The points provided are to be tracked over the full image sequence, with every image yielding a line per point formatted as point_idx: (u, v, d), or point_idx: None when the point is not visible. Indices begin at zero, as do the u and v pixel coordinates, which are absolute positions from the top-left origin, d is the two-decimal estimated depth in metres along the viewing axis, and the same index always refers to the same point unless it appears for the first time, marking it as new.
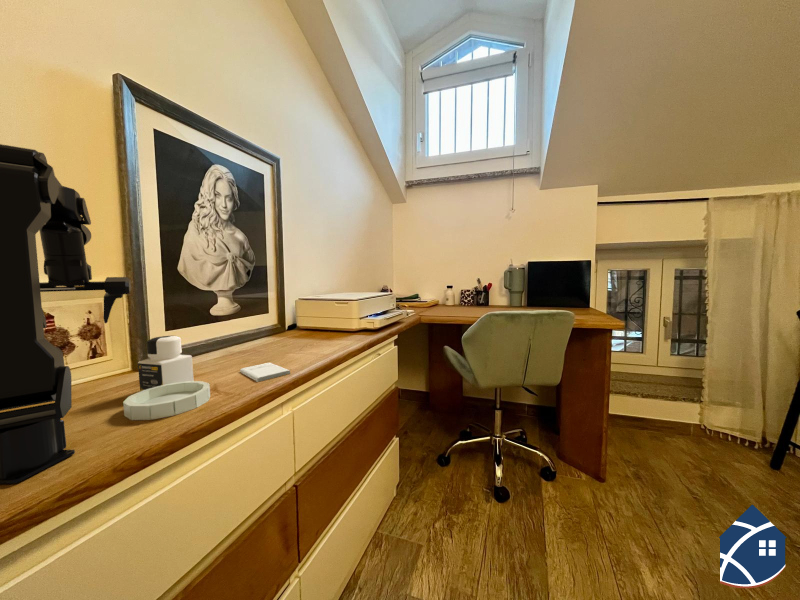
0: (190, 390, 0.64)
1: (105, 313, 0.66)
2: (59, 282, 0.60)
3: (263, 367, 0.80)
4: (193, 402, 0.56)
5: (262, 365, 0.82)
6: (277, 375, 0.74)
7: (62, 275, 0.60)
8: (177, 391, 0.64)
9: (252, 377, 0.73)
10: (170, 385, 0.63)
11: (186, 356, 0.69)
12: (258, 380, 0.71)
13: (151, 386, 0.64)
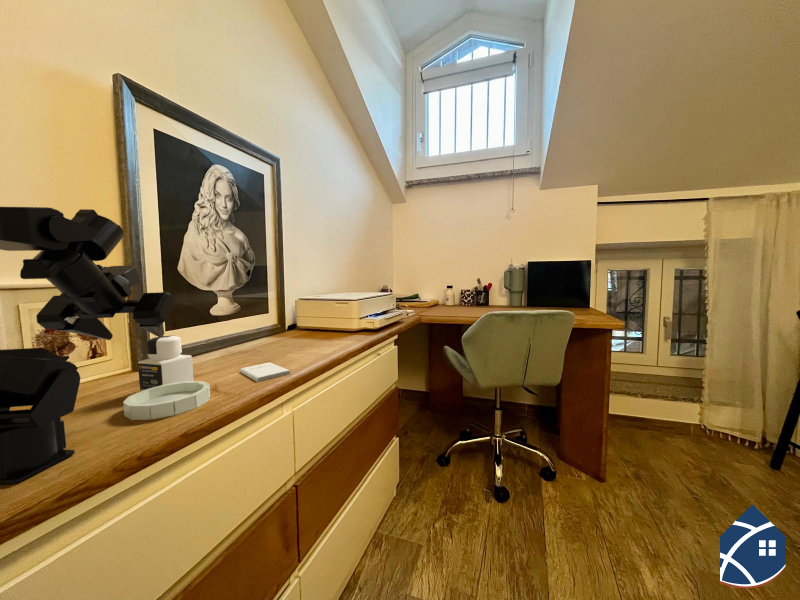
0: (190, 390, 0.64)
1: (153, 333, 0.57)
2: (87, 315, 0.50)
3: (263, 367, 0.80)
4: (193, 402, 0.56)
5: (262, 365, 0.82)
6: (277, 375, 0.74)
7: (85, 309, 0.49)
8: (177, 391, 0.64)
9: (252, 377, 0.73)
10: (170, 385, 0.63)
11: (186, 356, 0.69)
12: (258, 380, 0.71)
13: (151, 386, 0.64)
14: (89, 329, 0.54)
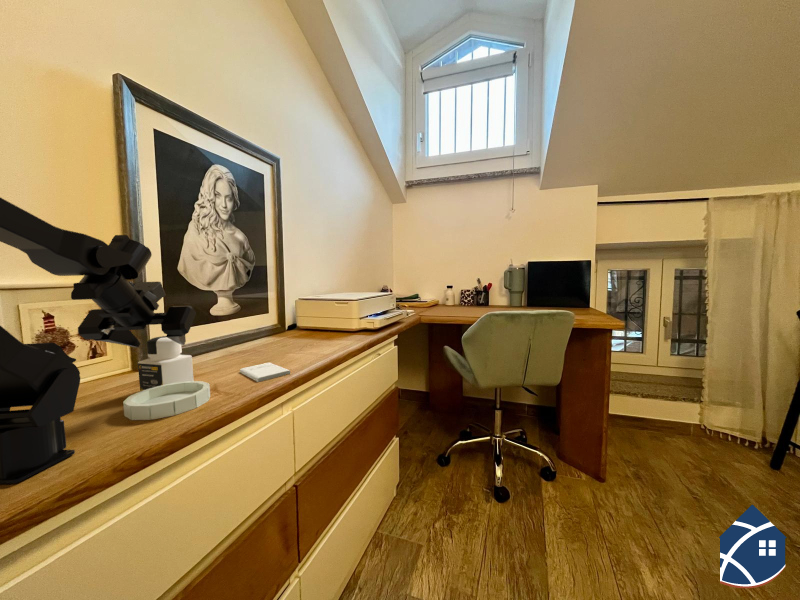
0: (190, 390, 0.64)
1: (177, 342, 0.64)
2: (122, 327, 0.57)
3: (263, 367, 0.80)
4: (193, 402, 0.56)
5: (262, 365, 0.82)
6: (277, 375, 0.74)
7: (121, 323, 0.56)
8: (177, 391, 0.64)
9: (252, 377, 0.73)
10: (170, 385, 0.63)
11: (186, 356, 0.69)
12: (258, 380, 0.71)
13: (151, 386, 0.64)
14: (121, 338, 0.62)
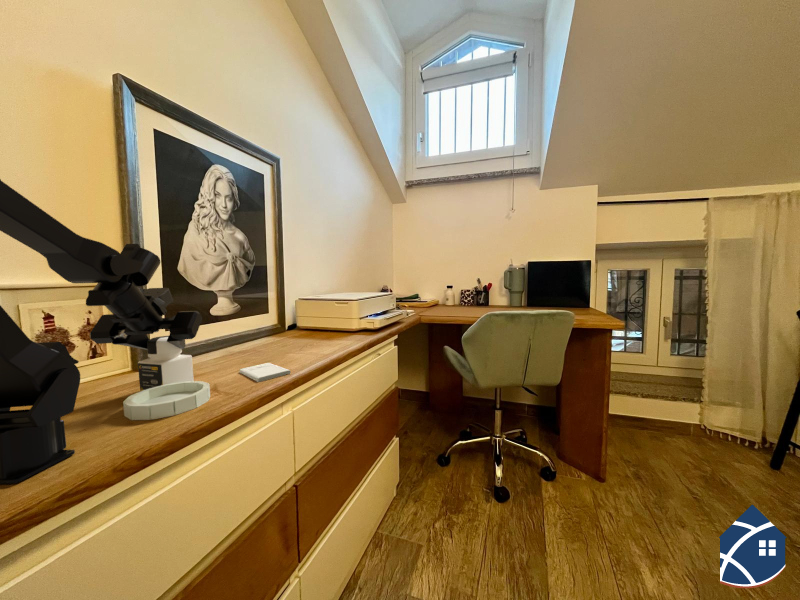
0: (190, 390, 0.64)
1: (177, 346, 0.66)
2: (132, 332, 0.59)
3: (263, 367, 0.80)
4: (193, 402, 0.56)
5: (261, 365, 0.82)
6: (277, 375, 0.74)
7: (131, 327, 0.58)
8: (177, 391, 0.64)
9: (252, 377, 0.73)
10: (170, 385, 0.63)
11: (186, 356, 0.69)
12: (259, 380, 0.71)
13: (151, 386, 0.64)
14: (138, 342, 0.64)
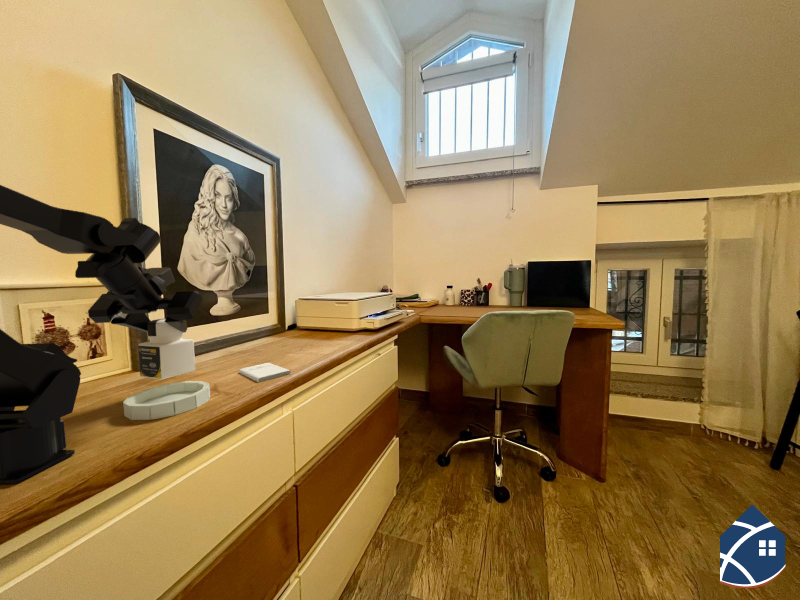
0: (190, 390, 0.64)
1: (177, 328, 0.63)
2: (129, 310, 0.56)
3: (262, 367, 0.80)
4: (193, 402, 0.56)
5: (261, 365, 0.82)
6: (278, 375, 0.74)
7: (127, 305, 0.55)
8: (177, 391, 0.64)
9: (252, 377, 0.73)
10: (170, 385, 0.63)
11: (187, 340, 0.66)
12: (259, 380, 0.71)
13: (150, 369, 0.61)
14: (138, 323, 0.62)
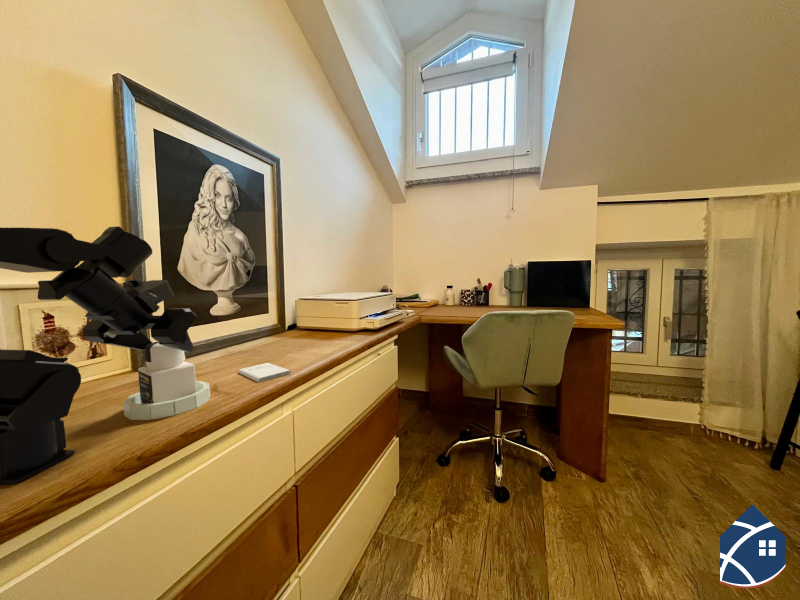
0: None
1: (179, 349, 0.56)
2: (115, 331, 0.50)
3: (262, 367, 0.80)
4: (193, 402, 0.56)
5: (261, 365, 0.82)
6: (278, 375, 0.74)
7: (111, 326, 0.49)
8: None
9: (253, 377, 0.73)
10: None
11: (187, 365, 0.58)
12: (259, 380, 0.71)
13: (146, 399, 0.55)
14: (130, 342, 0.56)
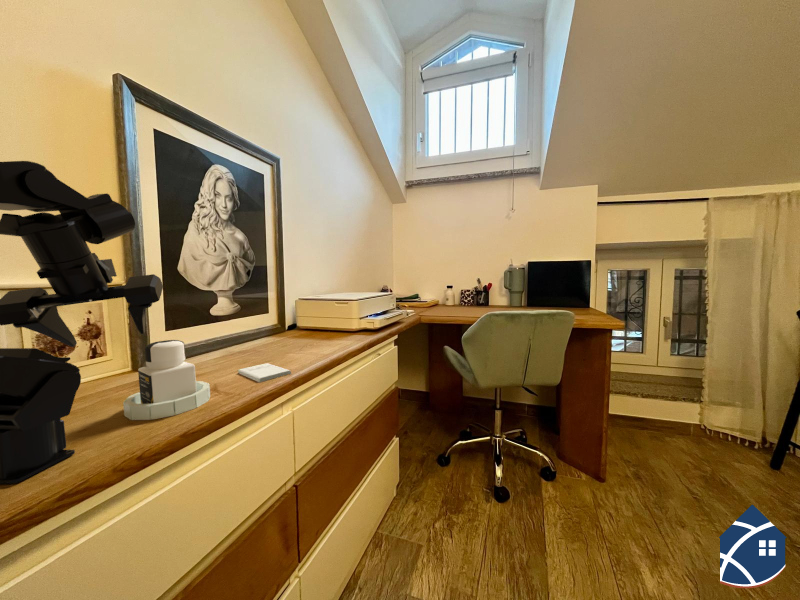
0: None
1: (137, 325, 0.52)
2: (67, 297, 0.44)
3: (262, 368, 0.80)
4: (193, 402, 0.56)
5: (260, 366, 0.82)
6: (278, 375, 0.74)
7: (67, 288, 0.44)
8: None
9: (253, 377, 0.73)
10: None
11: (187, 365, 0.58)
12: (260, 380, 0.71)
13: (146, 399, 0.55)
14: (54, 328, 0.47)
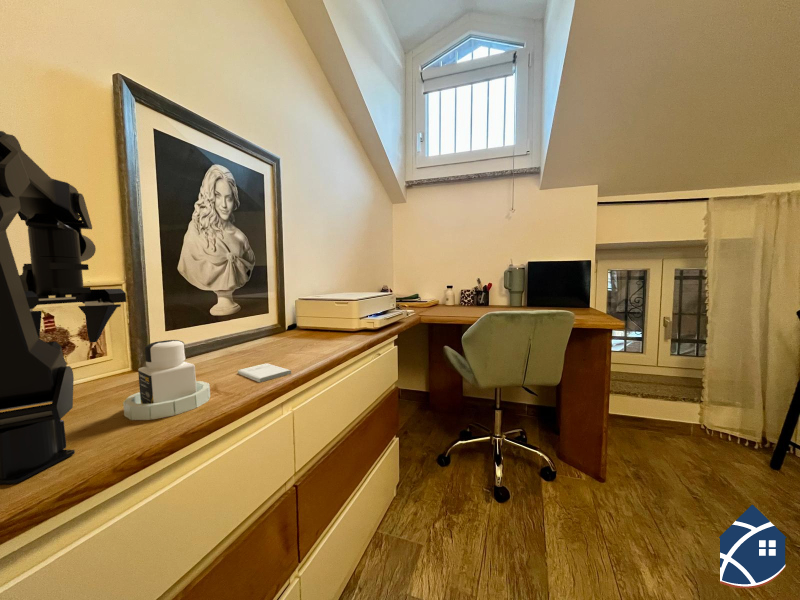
0: None
1: (101, 327, 0.57)
2: (69, 289, 0.51)
3: (262, 368, 0.80)
4: (193, 402, 0.56)
5: (260, 366, 0.81)
6: (279, 375, 0.74)
7: (72, 280, 0.51)
8: None
9: (253, 378, 0.73)
10: None
11: (187, 365, 0.58)
12: (260, 380, 0.71)
13: (146, 399, 0.55)
14: None
